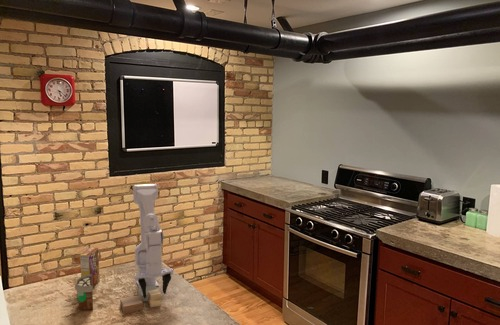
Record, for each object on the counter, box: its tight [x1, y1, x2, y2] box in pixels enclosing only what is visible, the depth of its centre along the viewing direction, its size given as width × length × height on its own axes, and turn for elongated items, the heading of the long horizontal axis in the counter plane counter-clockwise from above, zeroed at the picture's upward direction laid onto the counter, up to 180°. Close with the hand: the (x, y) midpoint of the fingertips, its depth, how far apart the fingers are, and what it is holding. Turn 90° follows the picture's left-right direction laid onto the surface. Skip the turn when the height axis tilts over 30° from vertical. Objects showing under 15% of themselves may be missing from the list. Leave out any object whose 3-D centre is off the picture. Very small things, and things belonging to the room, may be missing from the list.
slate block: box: [137, 285, 158, 303], centre depth 153 cm, size 7×7×3 cm
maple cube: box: [147, 288, 162, 308], centre depth 147 cm, size 4×4×5 cm
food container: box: [74, 274, 94, 312], centre depth 144 cm, size 12×6×10 cm, turn 23°
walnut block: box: [119, 294, 144, 314], centre depth 144 cm, size 7×7×3 cm
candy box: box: [79, 247, 101, 289], centre depth 162 cm, size 9×4×15 cm, turn 177°
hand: (154, 294), depth 147 cm, fingers open, 7 cm apart
